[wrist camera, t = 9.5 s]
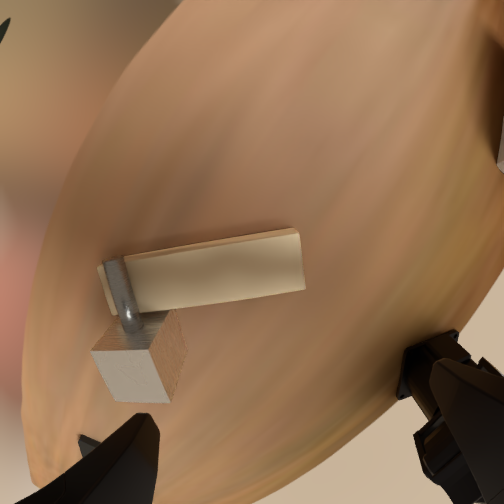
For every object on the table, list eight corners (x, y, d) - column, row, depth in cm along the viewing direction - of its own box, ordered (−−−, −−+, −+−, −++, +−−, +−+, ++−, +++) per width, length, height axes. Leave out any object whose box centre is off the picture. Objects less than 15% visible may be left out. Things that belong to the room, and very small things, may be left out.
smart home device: (137, 464, 23) (139, 509, 27) (140, 454, 24) (141, 502, 29) (75, 439, 22) (95, 492, 27) (80, 430, 24) (97, 485, 28)
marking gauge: (187, 349, 20) (170, 403, 14) (141, 352, 20) (115, 401, 14) (158, 241, 18) (122, 268, 12) (109, 251, 18) (62, 278, 12)
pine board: (299, 278, 19) (305, 289, 17) (122, 303, 19) (111, 315, 17) (293, 227, 18) (299, 233, 16) (109, 258, 18) (96, 267, 16)
